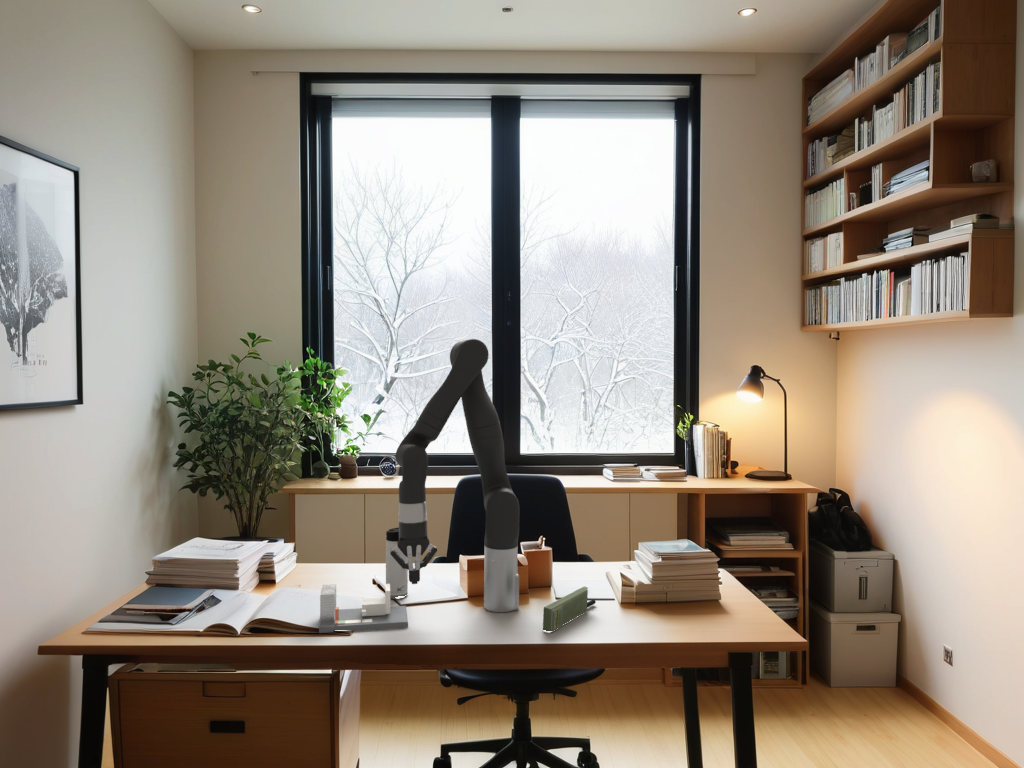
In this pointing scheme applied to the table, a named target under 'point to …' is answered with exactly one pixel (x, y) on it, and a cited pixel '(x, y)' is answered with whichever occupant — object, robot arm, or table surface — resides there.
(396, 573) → the travel mug
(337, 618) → the drag pointer
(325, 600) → the grey block
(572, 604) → the handheld radio
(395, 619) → the gauge base
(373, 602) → the white block
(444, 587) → the table surface
